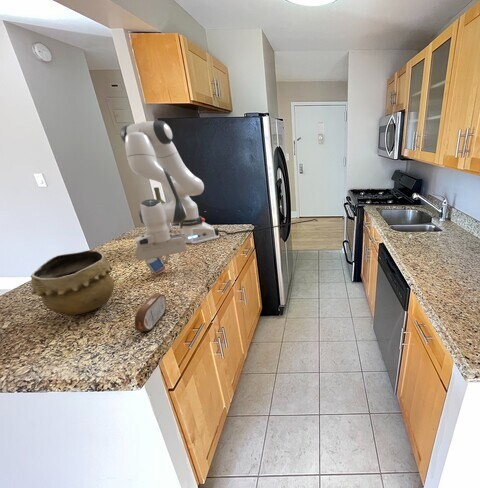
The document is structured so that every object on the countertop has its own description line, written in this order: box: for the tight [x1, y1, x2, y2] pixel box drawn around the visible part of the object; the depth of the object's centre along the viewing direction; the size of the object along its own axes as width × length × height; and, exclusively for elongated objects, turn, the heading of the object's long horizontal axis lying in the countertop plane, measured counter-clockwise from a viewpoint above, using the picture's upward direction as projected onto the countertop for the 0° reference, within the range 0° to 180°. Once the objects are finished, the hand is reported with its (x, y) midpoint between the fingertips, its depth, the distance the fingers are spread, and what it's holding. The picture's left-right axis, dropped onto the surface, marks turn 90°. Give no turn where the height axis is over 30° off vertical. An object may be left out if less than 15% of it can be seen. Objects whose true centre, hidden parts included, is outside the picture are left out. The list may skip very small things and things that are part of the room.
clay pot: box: [30, 249, 115, 316], centre depth 91 cm, size 21×21×20 cm
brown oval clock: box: [134, 293, 167, 332], centre depth 87 cm, size 15×3×8 cm, turn 5°
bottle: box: [153, 187, 172, 233], centre depth 171 cm, size 7×7×30 cm
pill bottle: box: [144, 257, 166, 275], centre depth 119 cm, size 6×5×10 cm
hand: (165, 263), depth 122 cm, fingers closed
